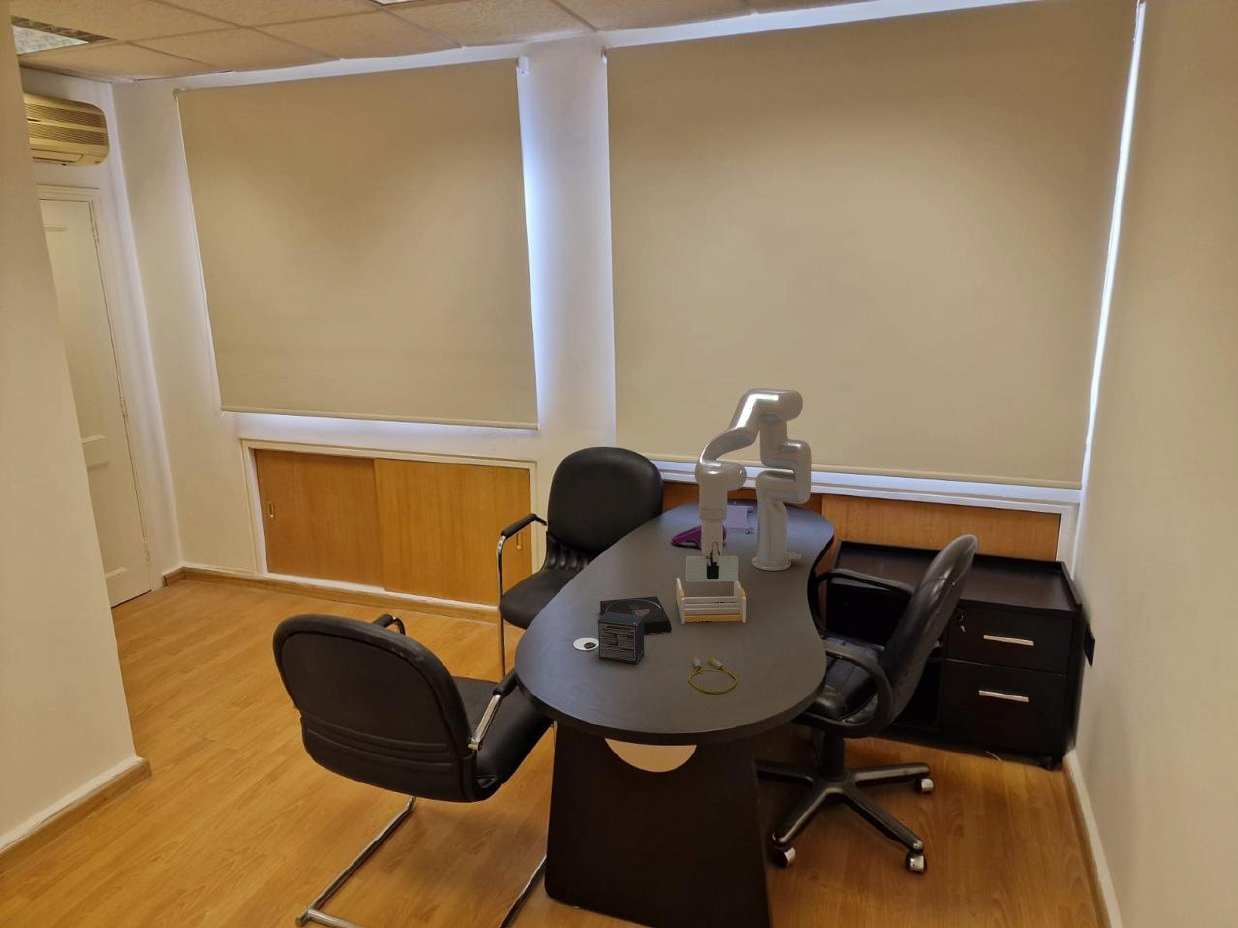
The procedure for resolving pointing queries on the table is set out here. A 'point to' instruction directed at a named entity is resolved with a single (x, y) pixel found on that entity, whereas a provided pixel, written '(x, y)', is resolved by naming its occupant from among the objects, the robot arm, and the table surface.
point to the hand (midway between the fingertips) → (712, 576)
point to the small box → (621, 637)
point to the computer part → (737, 519)
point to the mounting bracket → (692, 536)
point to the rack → (712, 606)
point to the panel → (698, 568)
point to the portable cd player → (641, 612)
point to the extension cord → (715, 664)
